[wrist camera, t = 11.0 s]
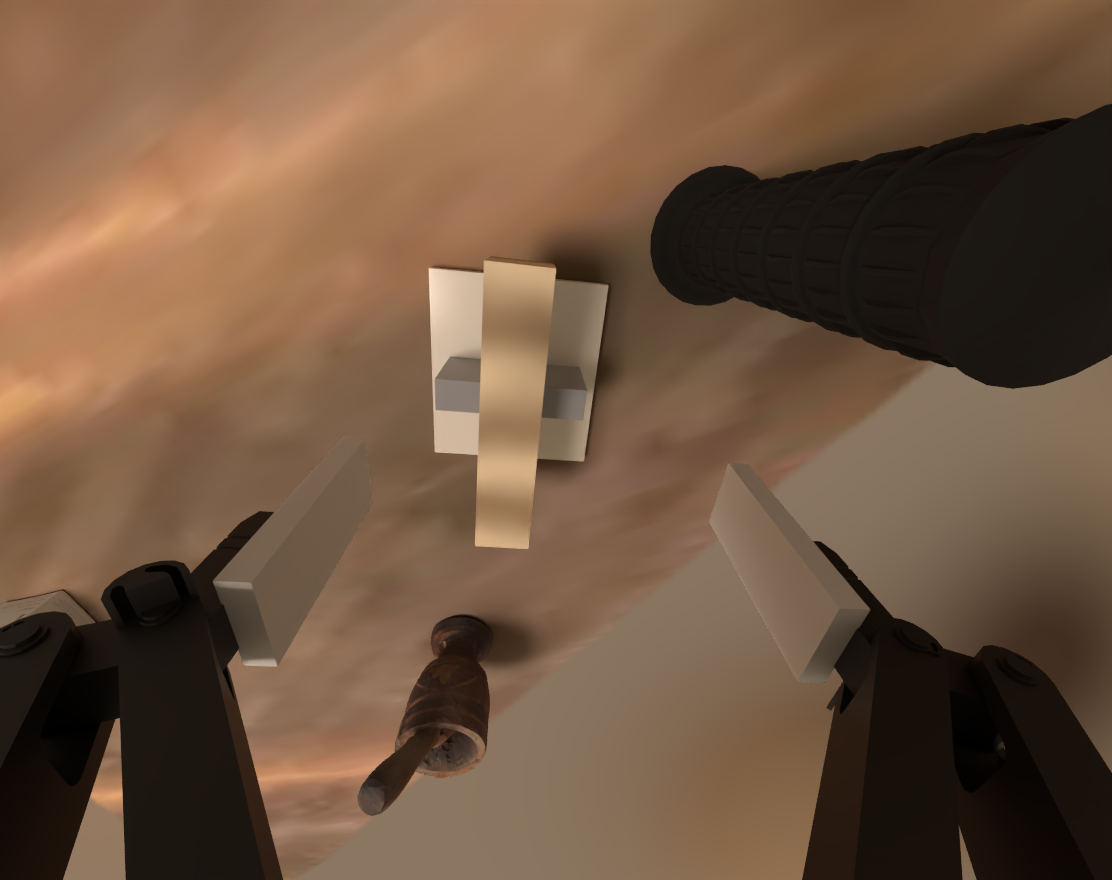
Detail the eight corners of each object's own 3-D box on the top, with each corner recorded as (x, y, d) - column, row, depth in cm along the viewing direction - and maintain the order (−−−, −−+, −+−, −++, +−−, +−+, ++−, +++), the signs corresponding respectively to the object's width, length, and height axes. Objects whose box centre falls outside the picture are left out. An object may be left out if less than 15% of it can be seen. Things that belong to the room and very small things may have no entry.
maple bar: (491, 256, 27) (484, 260, 23) (553, 263, 27) (556, 268, 24) (481, 514, 36) (475, 545, 32) (528, 517, 36) (528, 549, 33)
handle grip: (662, 159, 31) (640, 301, 36) (1057, -61, 8) (847, 442, 12) (793, 171, 32) (756, 309, 36) (1531, 6, 8) (1168, 459, 13)
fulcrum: (432, 266, 34) (407, 275, 27) (606, 283, 35) (622, 295, 28) (437, 446, 41) (419, 486, 34) (582, 455, 42) (591, 496, 35)
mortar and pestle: (390, 628, 51) (312, 842, 33) (431, 586, 49) (370, 794, 31) (469, 667, 55) (437, 878, 37) (511, 630, 52) (498, 838, 34)
